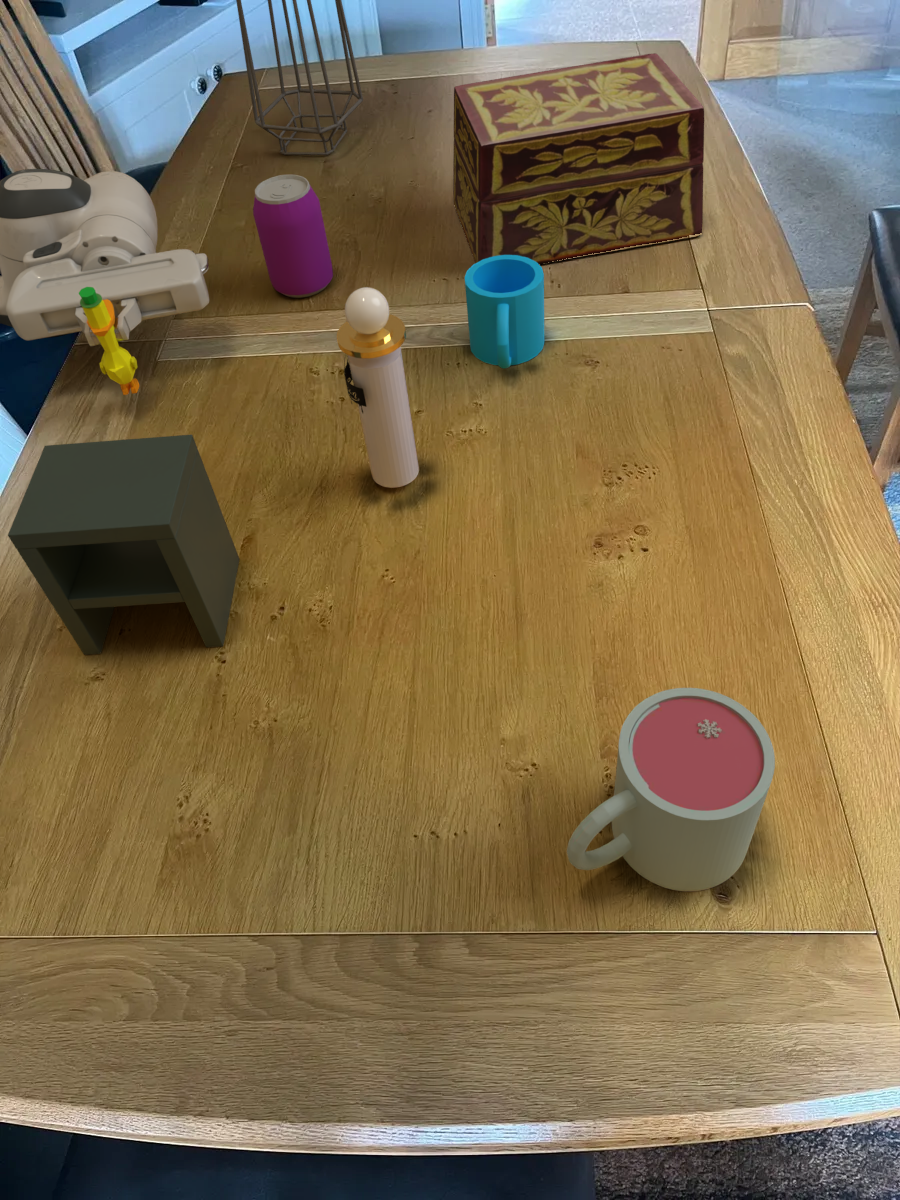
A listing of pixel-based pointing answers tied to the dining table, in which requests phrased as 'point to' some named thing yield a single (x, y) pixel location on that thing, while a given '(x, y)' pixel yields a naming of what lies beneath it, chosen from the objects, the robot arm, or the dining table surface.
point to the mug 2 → (682, 791)
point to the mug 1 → (505, 309)
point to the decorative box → (578, 160)
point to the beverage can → (292, 236)
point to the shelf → (126, 534)
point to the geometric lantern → (251, 72)
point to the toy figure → (109, 340)
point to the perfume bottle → (379, 385)
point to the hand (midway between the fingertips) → (106, 337)
